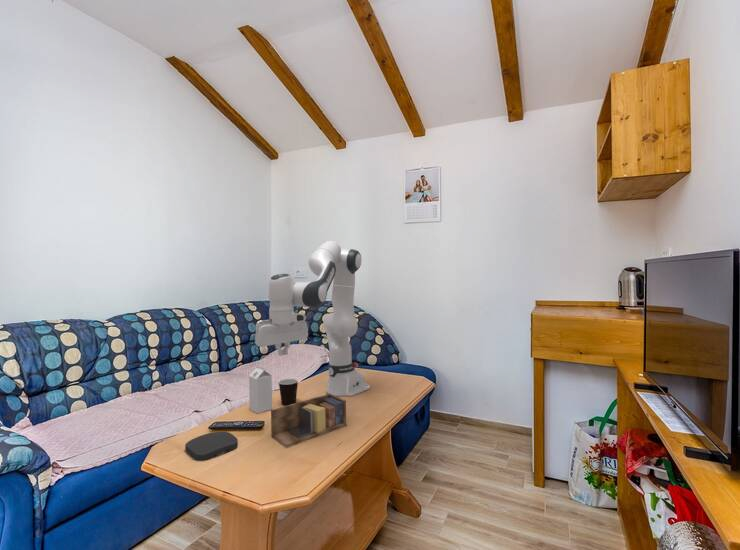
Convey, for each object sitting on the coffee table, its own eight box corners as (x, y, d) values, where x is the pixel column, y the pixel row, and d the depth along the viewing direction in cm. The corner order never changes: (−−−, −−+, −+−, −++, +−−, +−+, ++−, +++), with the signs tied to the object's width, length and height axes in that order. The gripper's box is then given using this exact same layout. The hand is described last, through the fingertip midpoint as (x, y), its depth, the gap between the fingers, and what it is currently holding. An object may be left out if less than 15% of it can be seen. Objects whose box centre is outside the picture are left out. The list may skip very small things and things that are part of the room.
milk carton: (264, 405, 169) (263, 363, 169) (272, 409, 164) (271, 366, 163) (249, 409, 164) (248, 366, 164) (257, 413, 159) (256, 369, 158)
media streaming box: (181, 449, 129) (181, 441, 129) (223, 435, 139) (222, 427, 139) (198, 464, 119) (198, 455, 118) (241, 448, 129) (241, 439, 129)
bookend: (301, 426, 142) (301, 406, 142) (312, 433, 136) (312, 411, 136) (287, 431, 139) (287, 409, 138) (298, 438, 132) (298, 416, 132)
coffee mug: (291, 407, 165) (291, 385, 165) (275, 405, 168) (274, 383, 168) (305, 398, 176) (304, 377, 176) (289, 397, 179) (289, 376, 179)
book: (310, 424, 145) (309, 403, 145) (325, 429, 140) (325, 407, 140) (302, 427, 142) (302, 406, 141) (318, 432, 137) (317, 411, 137)
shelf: (330, 417, 153) (329, 393, 153) (346, 425, 145) (345, 400, 145) (271, 437, 136) (270, 410, 136) (286, 447, 128) (285, 418, 128)
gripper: (258, 322, 129) (260, 361, 129) (309, 315, 142) (310, 351, 143) (251, 320, 134) (252, 358, 134) (301, 314, 147) (302, 348, 148)
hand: (283, 354), depth 139 cm, fingers closed
